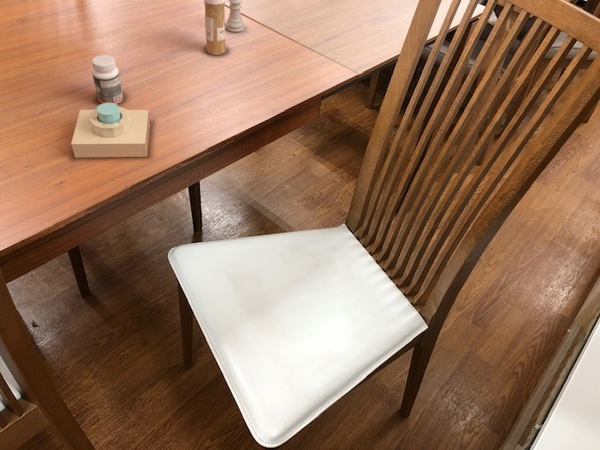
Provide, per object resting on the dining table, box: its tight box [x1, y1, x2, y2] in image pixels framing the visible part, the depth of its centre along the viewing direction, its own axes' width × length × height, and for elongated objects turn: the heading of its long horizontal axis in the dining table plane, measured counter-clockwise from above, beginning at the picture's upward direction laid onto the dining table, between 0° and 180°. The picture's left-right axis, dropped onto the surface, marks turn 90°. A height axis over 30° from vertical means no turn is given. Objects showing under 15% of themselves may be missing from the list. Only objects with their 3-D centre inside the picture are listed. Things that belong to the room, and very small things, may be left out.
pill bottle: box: [91, 54, 124, 105], centre depth 97 cm, size 5×5×8 cm
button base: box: [70, 106, 151, 159], centre depth 89 cm, size 12×10×5 cm
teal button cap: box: [96, 103, 121, 124], centre depth 87 cm, size 4×4×2 cm
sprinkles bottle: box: [203, 0, 227, 56], centre depth 112 cm, size 5×5×13 cm
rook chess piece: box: [225, 0, 245, 33], centre depth 122 cm, size 4×4×8 cm
